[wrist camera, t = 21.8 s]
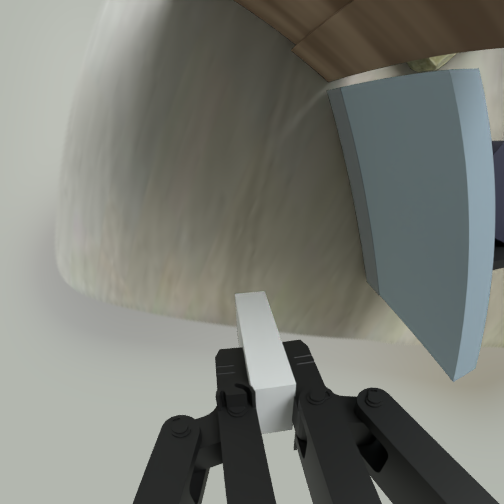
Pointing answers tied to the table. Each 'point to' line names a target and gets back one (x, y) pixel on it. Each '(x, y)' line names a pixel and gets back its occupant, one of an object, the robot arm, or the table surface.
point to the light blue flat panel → (424, 202)
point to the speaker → (499, 203)
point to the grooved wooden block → (380, 30)
